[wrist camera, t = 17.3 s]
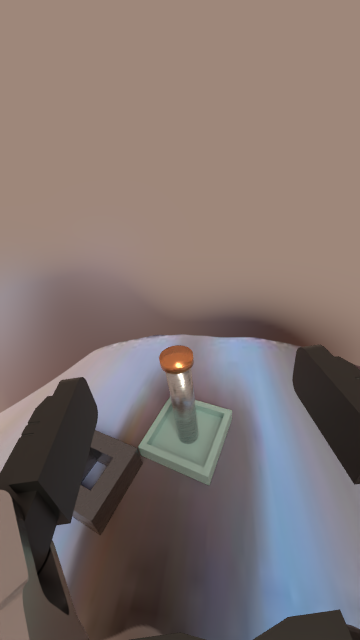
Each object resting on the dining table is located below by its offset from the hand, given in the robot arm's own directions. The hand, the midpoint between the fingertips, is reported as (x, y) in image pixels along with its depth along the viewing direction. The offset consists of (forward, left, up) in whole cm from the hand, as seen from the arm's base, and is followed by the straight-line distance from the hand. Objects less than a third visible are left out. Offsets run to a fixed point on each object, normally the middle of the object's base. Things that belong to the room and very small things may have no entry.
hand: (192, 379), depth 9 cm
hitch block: (-4, -21, -32) cm, 39 cm away
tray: (-16, -11, -32) cm, 38 cm away
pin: (-16, -11, -31) cm, 37 cm away
